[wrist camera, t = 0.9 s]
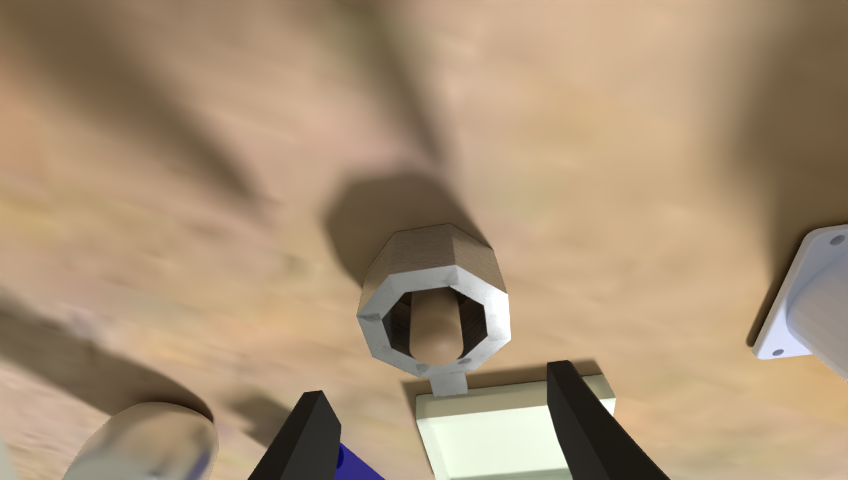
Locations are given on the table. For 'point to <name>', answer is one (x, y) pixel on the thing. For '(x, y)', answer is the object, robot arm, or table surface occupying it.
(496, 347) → the grey octagonal ring
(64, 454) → the table surface
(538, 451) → the tray
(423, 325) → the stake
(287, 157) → the table surface
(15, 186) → the table surface
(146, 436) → the plastic bottle
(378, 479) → the cable clip
